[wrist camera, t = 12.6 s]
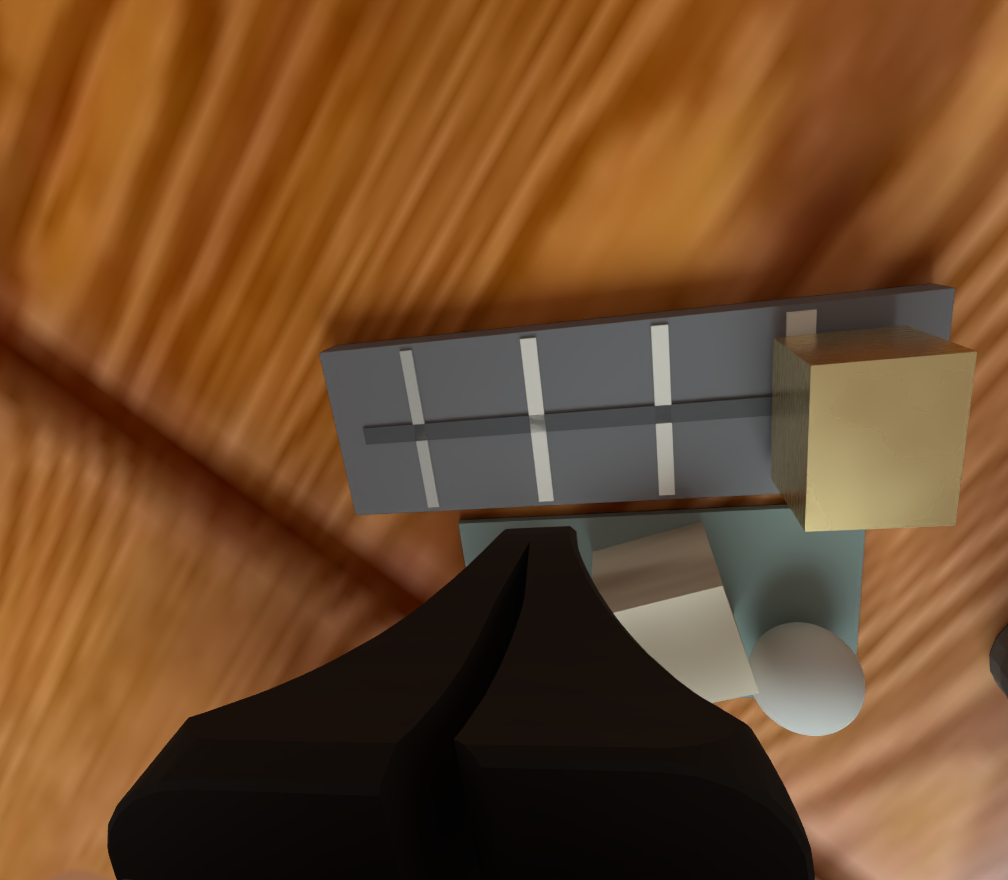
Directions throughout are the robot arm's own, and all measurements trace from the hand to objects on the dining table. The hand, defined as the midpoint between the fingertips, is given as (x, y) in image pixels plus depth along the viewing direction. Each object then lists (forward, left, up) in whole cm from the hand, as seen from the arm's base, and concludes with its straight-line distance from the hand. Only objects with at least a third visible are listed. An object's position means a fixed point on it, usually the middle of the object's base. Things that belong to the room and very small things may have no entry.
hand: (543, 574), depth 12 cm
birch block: (-7, -3, -10) cm, 12 cm away
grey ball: (-9, -7, -10) cm, 16 cm away
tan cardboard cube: (0, -8, -9) cm, 12 cm away
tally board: (0, -2, -10) cm, 11 cm away
